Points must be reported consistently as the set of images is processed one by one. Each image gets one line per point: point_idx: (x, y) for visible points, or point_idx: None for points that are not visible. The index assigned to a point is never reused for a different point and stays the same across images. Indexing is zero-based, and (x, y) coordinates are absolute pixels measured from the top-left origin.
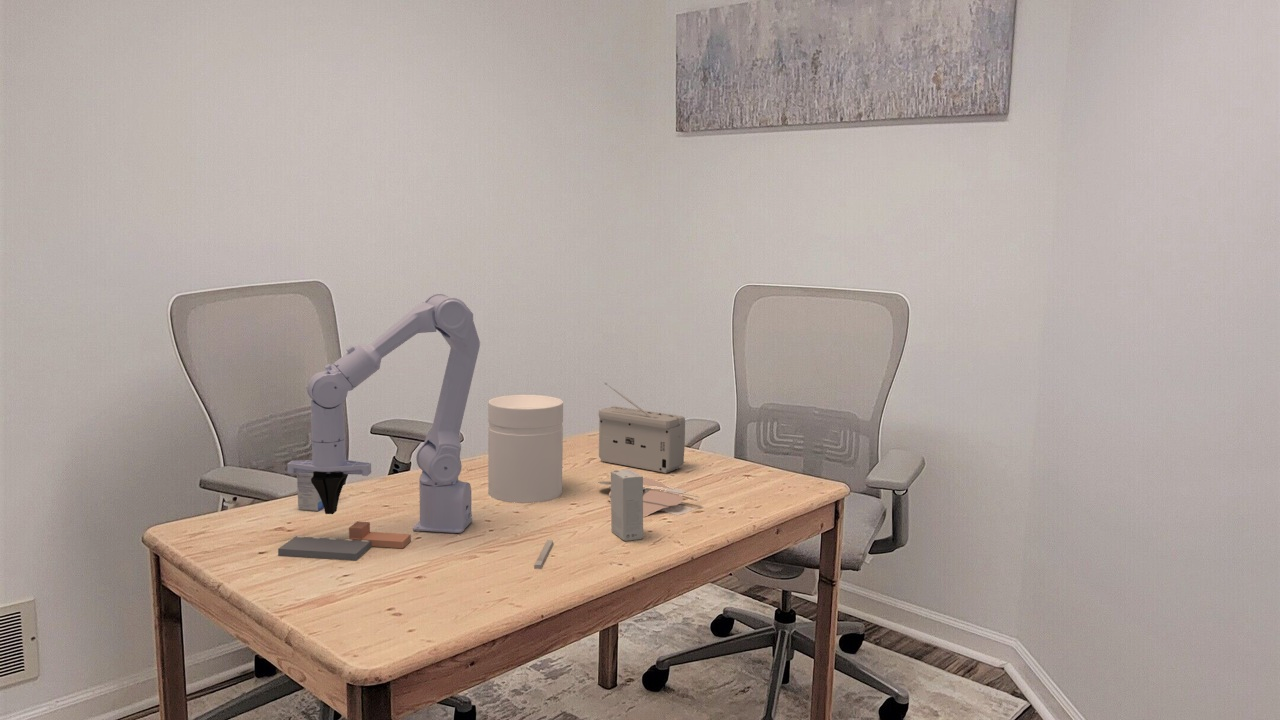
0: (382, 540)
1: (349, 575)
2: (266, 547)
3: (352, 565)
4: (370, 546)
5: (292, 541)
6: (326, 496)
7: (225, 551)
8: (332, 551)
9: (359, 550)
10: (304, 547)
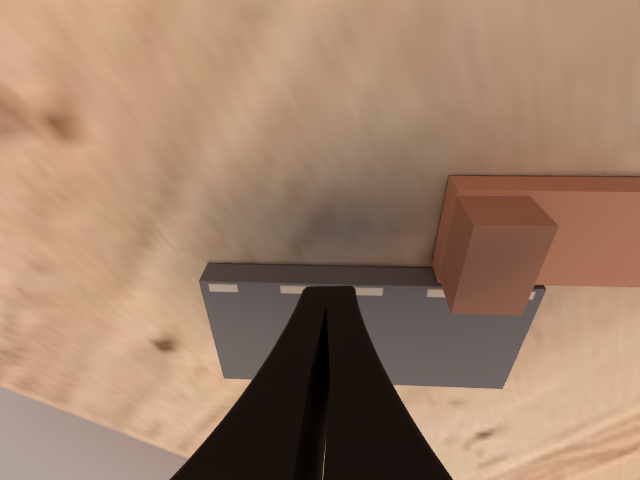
0: (603, 285)
1: (493, 434)
2: (141, 310)
3: (488, 392)
4: None
5: (225, 327)
6: (321, 469)
7: (54, 348)
8: (414, 380)
9: (509, 367)
10: None
